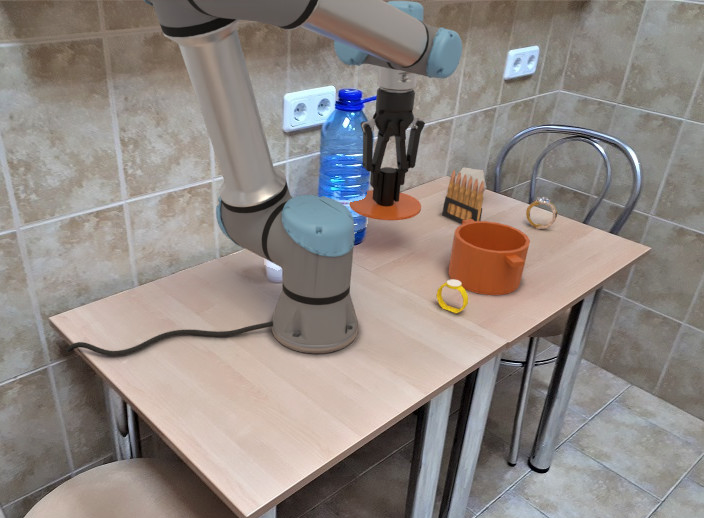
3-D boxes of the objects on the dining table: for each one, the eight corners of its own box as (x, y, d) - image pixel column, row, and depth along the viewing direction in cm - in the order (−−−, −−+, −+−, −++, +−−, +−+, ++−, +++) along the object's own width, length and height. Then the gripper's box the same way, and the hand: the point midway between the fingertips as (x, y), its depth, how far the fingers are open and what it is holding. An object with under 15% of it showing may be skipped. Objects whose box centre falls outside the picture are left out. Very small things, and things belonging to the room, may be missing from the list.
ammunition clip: (479, 228, 149) (488, 181, 143) (474, 229, 148) (483, 182, 142) (446, 213, 156) (453, 168, 150) (441, 214, 155) (448, 169, 149)
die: (487, 199, 167) (475, 164, 167) (494, 194, 159) (481, 158, 158) (457, 210, 168) (445, 175, 168) (463, 206, 159) (450, 169, 159)
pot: (476, 306, 118) (485, 262, 113) (431, 259, 134) (436, 219, 129) (541, 297, 122) (553, 254, 117) (489, 252, 138) (497, 213, 133)
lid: (363, 226, 125) (367, 186, 121) (339, 197, 138) (341, 160, 133) (432, 219, 129) (438, 180, 125) (403, 192, 142) (407, 155, 138)
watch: (467, 313, 116) (473, 285, 113) (460, 318, 114) (465, 291, 111) (440, 301, 119) (444, 274, 116) (432, 306, 117) (437, 279, 114)
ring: (521, 226, 151) (528, 195, 147) (527, 222, 153) (534, 192, 149) (549, 234, 147) (557, 203, 143) (554, 230, 150) (562, 199, 145)
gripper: (363, 94, 115) (355, 210, 127) (443, 91, 120) (428, 203, 132) (350, 85, 121) (343, 196, 134) (426, 82, 126) (413, 190, 138)
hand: (385, 199), depth 133 cm, fingers closed on lid, 4 cm apart
